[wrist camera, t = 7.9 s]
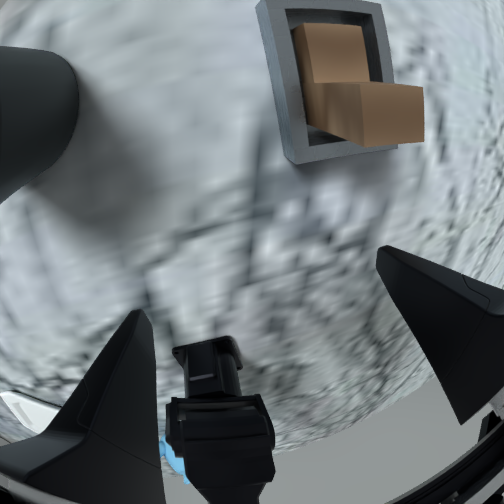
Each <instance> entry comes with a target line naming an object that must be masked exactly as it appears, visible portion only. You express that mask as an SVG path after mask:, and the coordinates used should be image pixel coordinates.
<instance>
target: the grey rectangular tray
mask: <svg viewBox="0 0 504 504" xmlns="http://www.w3.org/2000/svg"><path fill="white" fill-rule="evenodd" d="M255 9H256V13H257V17H258V22H259V26H260V30H261V35H262V39H263V44H264V49H265V53H266V58H267V63H268V68H269V73H270V78H271V83H272V88H273V94H274V99H275V105H276V110H277V116H278V122H279V127H280V133H281V140H282V146H283V152H284V156H285V157H287V158H288V159H289V160H291V161H292V162H293V163H294V164H296V165H297V164H302V163H307V162H313V161H318V160H324V159H329V158H335V157H341V156H347V155H354V154H360V153H367V152H374V151H382V150H390V149H398V144H393V145H383V146H374V147H366V148H364V147H362V146H360V145H357V144H355V143H353V142H351V141H348V140H346V139H343V138H341V137H338V136H336V135H333V134H331V133H328V132H326V131H323V130H320V129H318V128H315V127H312V126H310V125H308V118H307V111H306V104H305V97H304V90H303V84H302V78H301V72H300V66H299V61H298V55H297V50H296V45H295V40H294V35H293V30H292V29H294V28H295V27H297V26H299V25H301V24H303V23H326V24H343V25H354V26H361V28H362V33H363V38H364V44H365V50H366V56H367V63H368V70H369V78H370V82H384V83H394V75H393V67H392V60H391V53H390V47H389V41H388V35H387V30H386V25H385V21H384V16H383V12H382V8H381V4H379V3H373V2H368V1H362V0H260V2H259V3H258V4H257V5H256V7H255Z"/></svg>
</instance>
